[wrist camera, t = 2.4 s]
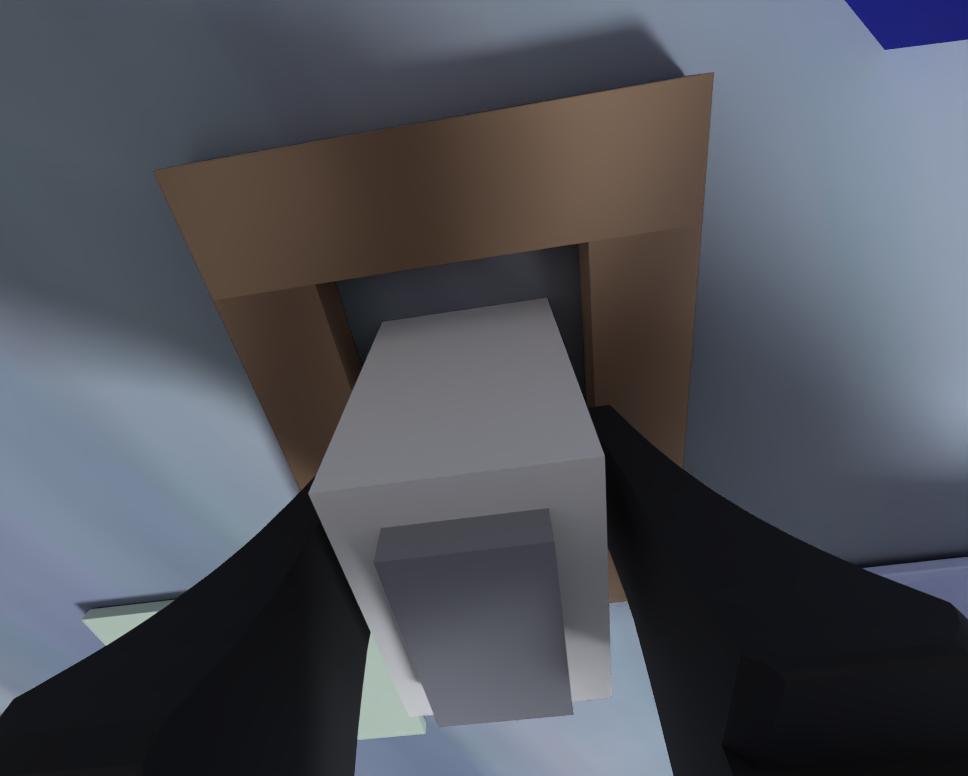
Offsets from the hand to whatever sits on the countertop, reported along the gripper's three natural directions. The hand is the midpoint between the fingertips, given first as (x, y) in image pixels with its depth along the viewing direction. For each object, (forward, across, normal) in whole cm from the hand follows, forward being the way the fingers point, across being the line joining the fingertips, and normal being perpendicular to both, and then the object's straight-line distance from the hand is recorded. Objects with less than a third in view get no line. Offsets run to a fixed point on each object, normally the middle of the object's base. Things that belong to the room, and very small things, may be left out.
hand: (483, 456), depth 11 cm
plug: (+2, 0, 0) cm, 2 cm away
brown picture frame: (+2, 0, 0) cm, 2 cm away
